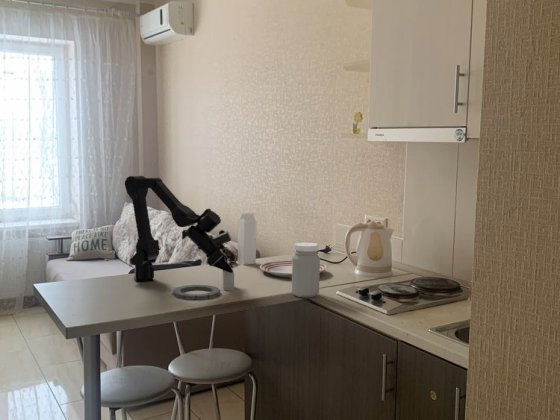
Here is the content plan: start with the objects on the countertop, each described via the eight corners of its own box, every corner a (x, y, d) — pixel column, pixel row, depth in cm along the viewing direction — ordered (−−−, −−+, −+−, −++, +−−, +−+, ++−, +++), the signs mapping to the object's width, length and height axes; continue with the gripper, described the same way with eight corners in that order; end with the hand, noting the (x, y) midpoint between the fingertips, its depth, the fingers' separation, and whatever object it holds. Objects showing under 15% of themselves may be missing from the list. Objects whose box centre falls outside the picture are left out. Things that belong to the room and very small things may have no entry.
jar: (285, 294, 210) (286, 243, 208) (303, 289, 218) (305, 240, 216) (306, 299, 204) (308, 247, 202) (324, 294, 211) (326, 244, 209)
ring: (178, 301, 198) (178, 297, 198) (168, 289, 213) (168, 286, 213) (225, 297, 204) (225, 294, 204) (212, 286, 219) (212, 283, 219)
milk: (255, 264, 262) (257, 214, 260) (243, 265, 259) (244, 214, 257) (249, 261, 268) (250, 212, 265) (237, 262, 265) (238, 212, 262)
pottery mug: (238, 266, 259) (230, 250, 256) (218, 275, 259) (210, 260, 256) (237, 254, 270) (229, 239, 267) (218, 263, 270) (210, 248, 267)
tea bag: (232, 285, 221) (232, 258, 220) (234, 290, 215) (234, 262, 214) (222, 285, 221) (222, 259, 220) (223, 290, 214) (224, 262, 213)
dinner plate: (249, 277, 237) (250, 268, 237) (272, 264, 263) (272, 257, 263) (317, 283, 229) (317, 275, 228) (333, 270, 254) (333, 262, 254)
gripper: (217, 227, 206) (248, 259, 208) (218, 220, 224) (247, 250, 226) (193, 250, 206) (225, 281, 208) (197, 241, 224) (226, 270, 226)
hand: (232, 269), depth 217 cm, fingers closed on tea bag, 7 cm apart
